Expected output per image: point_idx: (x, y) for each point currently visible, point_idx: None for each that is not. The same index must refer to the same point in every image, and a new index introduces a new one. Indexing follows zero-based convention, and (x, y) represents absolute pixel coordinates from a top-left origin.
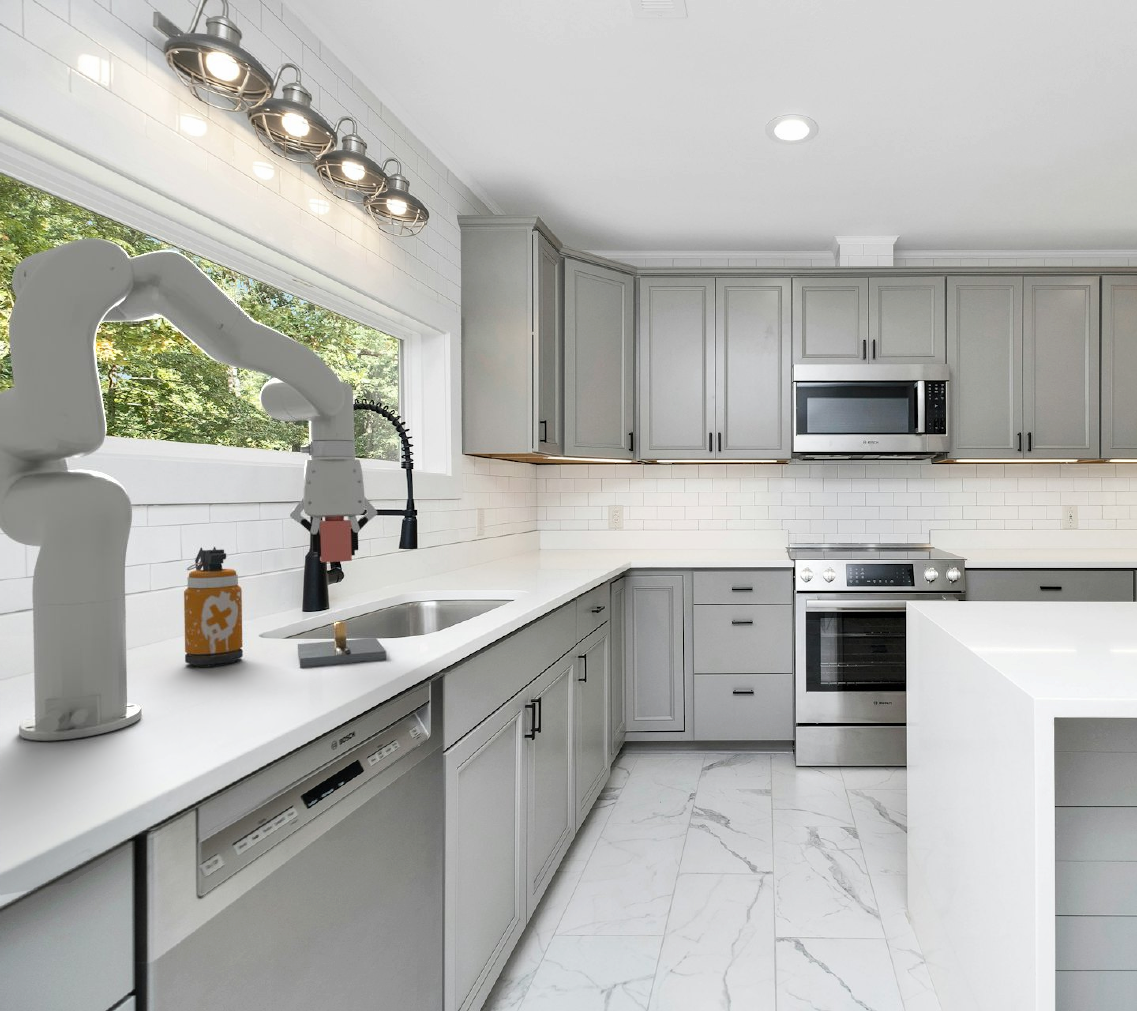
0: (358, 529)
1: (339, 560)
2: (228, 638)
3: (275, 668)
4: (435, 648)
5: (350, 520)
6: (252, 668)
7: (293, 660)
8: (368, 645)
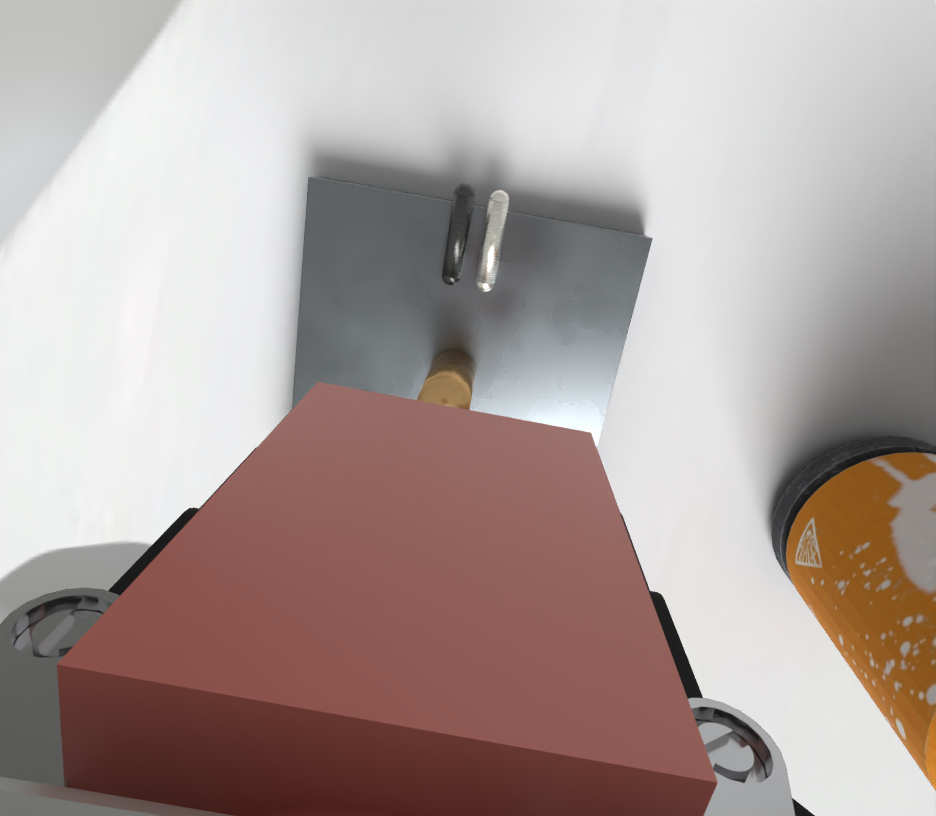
0: (35, 631)
1: (429, 403)
2: (898, 482)
3: (722, 285)
4: (97, 283)
5: (54, 777)
6: (790, 338)
7: (624, 390)
8: (346, 345)
